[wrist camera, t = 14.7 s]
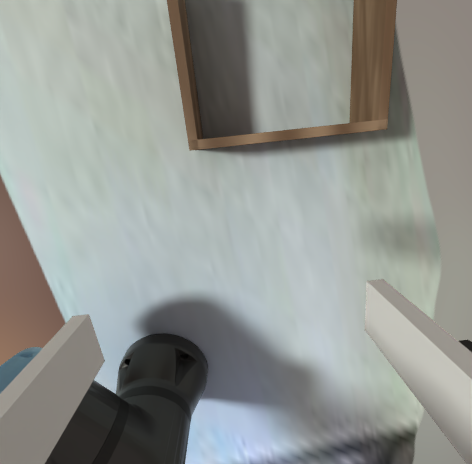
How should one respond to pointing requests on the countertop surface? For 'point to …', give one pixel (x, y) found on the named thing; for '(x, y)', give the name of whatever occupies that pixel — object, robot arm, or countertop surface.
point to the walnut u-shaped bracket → (362, 78)
